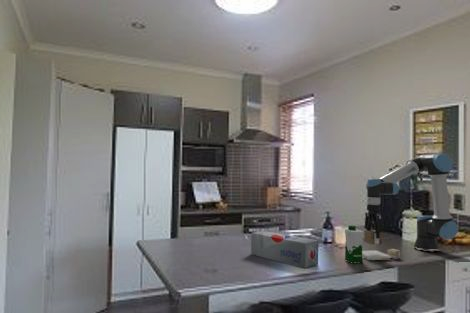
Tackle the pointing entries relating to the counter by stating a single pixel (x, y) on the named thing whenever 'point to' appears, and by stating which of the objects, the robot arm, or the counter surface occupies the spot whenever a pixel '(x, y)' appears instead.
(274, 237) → the soda pack
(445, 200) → the robot arm
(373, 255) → the tile
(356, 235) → the soya milk
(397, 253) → the maple block
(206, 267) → the counter surface
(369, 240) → the walnut cube
